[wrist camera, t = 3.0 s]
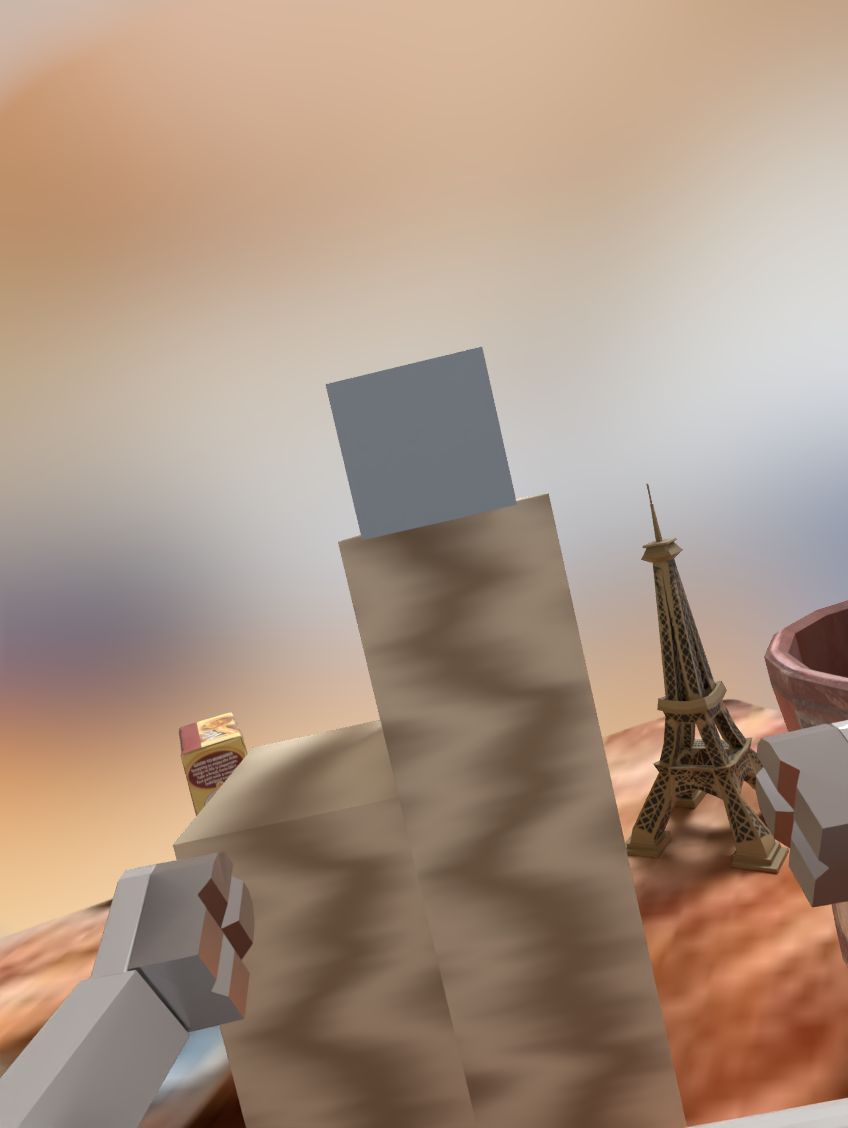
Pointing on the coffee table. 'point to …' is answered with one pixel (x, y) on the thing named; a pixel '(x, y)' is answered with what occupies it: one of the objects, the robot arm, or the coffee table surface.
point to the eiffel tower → (685, 759)
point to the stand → (446, 866)
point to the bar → (421, 443)
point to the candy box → (210, 755)
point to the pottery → (814, 687)
